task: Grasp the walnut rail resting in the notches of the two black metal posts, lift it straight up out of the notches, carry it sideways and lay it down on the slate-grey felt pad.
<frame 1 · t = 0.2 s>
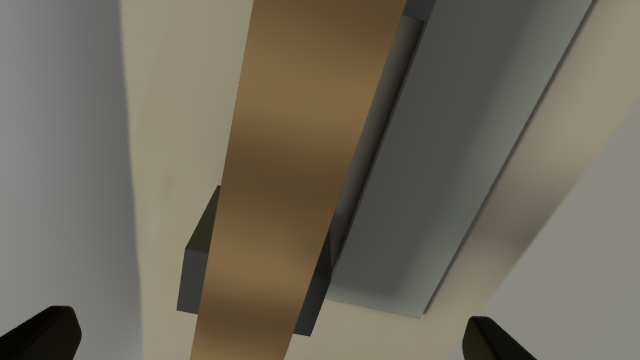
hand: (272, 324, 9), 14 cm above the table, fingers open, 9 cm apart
rail: (291, 140, 17), point 5 cm above the table, touching rack
rack: (297, 106, 21), on the table
pad: (442, 145, 22), on the table
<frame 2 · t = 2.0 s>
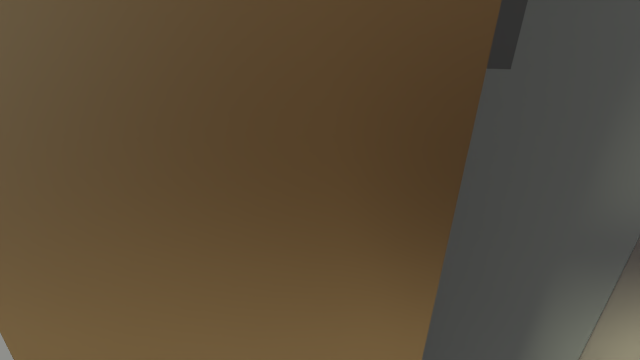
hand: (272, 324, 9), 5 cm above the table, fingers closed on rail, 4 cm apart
rail: (273, 316, 9), point 5 cm above the table, touching gripper, rack
rack: (289, 205, 13), on the table
pad: (533, 211, 14), on the table
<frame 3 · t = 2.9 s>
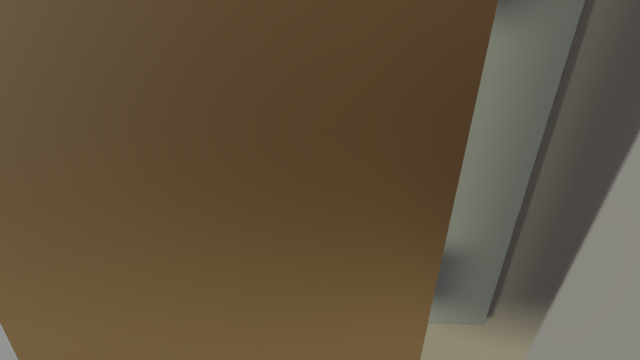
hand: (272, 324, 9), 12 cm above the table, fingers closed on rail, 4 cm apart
rail: (273, 314, 9), point 12 cm above the table, touching gripper
pad: (466, 139, 20), on the table
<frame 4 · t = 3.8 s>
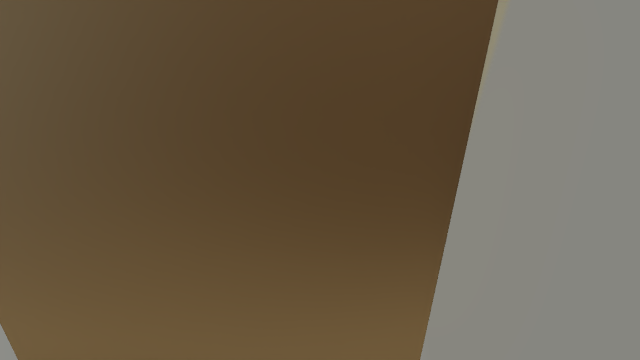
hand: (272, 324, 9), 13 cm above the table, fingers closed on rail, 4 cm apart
rail: (273, 313, 9), point 12 cm above the table, touching gripper
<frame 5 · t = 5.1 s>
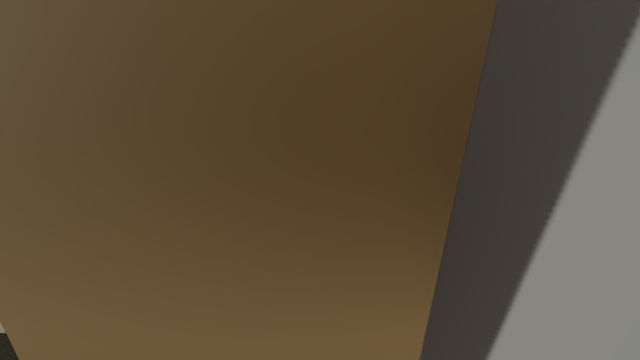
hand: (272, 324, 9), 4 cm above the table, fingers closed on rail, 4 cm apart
rail: (273, 313, 9), point 4 cm above the table, touching gripper
rack: (27, 207, 13), on the table
when the fingers open (2 cm above the table, at t = 5.9 s): rail drops 1 cm, resting on pad.
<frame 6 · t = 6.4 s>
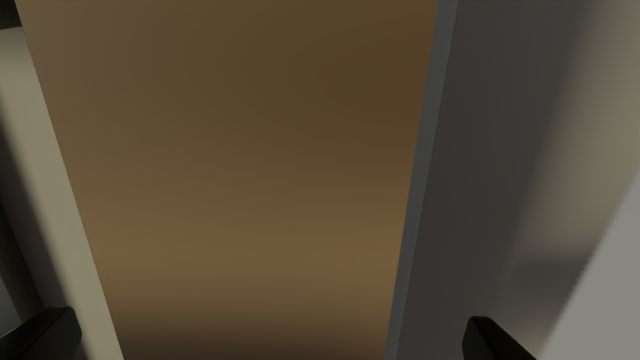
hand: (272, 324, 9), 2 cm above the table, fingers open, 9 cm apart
rail: (280, 273, 10), point 1 cm above the table, touching pad
pad: (281, 258, 11), on the table
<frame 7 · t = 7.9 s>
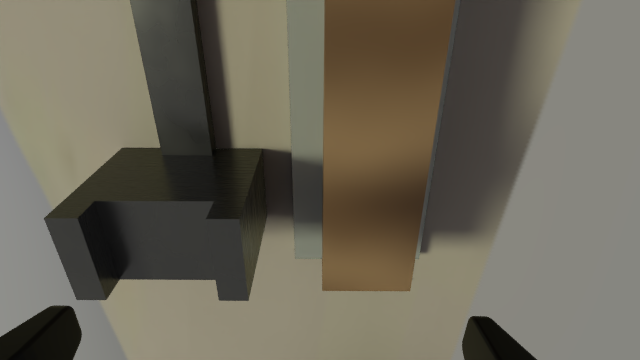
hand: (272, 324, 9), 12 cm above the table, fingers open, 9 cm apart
rail: (372, 21, 16), point 1 cm above the table, touching pad
rack: (170, 19, 16), on the table
pad: (370, 19, 16), on the table
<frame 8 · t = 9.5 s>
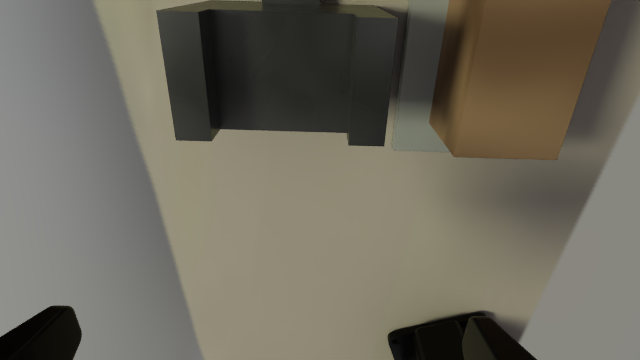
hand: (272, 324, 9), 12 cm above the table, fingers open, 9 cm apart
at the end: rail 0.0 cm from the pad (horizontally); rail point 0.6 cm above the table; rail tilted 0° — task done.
